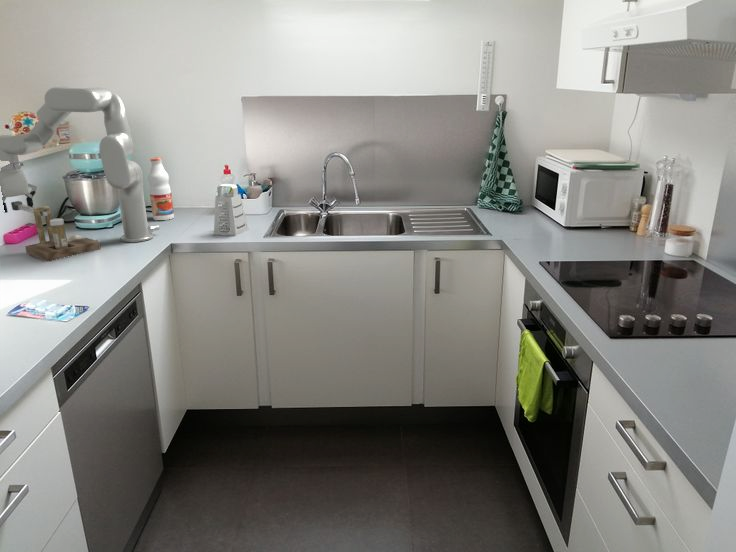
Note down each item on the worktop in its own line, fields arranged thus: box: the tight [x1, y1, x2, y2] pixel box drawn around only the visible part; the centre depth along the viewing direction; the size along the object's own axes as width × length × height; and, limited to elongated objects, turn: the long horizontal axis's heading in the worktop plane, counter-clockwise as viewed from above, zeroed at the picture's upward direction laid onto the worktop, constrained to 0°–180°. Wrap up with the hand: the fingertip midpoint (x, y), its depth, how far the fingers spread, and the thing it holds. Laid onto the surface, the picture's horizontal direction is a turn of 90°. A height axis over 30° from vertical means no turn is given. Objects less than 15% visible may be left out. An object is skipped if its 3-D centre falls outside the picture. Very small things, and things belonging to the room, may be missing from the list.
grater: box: [213, 183, 249, 237], centre depth 247 cm, size 10×10×20 cm
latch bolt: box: [10, 200, 48, 217], centre depth 230 cm, size 3×26×3 cm, turn 52°
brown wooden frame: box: [24, 205, 101, 262], centre depth 223 cm, size 20×17×16 cm
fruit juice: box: [147, 157, 175, 221], centre depth 270 cm, size 9×9×28 cm
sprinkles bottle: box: [50, 217, 68, 250], centre depth 220 cm, size 5×5×14 cm
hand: (18, 209), depth 238 cm, fingers open, 9 cm apart
